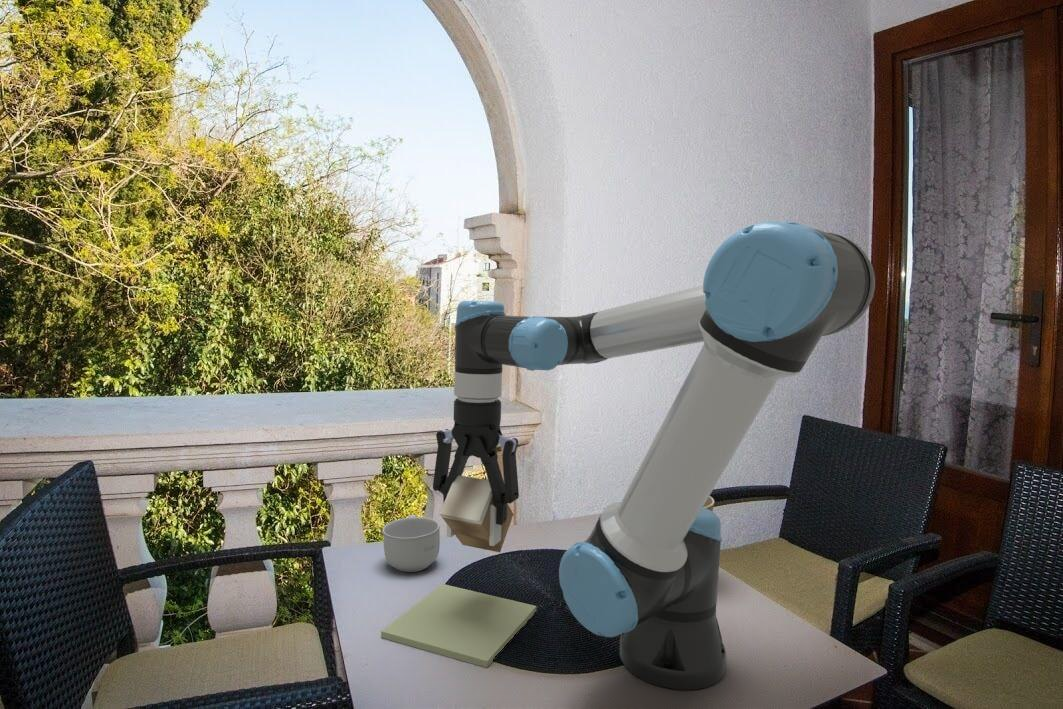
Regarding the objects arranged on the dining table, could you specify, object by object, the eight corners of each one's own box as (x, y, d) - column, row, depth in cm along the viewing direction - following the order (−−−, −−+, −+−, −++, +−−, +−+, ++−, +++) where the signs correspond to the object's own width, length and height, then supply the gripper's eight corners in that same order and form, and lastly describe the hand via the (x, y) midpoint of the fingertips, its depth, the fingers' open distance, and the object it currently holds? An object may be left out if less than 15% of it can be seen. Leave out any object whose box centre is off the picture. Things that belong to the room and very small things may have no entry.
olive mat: (536, 611, 106) (536, 606, 106) (487, 667, 90) (487, 661, 90) (442, 589, 113) (442, 583, 113) (381, 637, 97) (381, 631, 97)
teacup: (434, 579, 117) (434, 536, 117) (375, 576, 118) (375, 534, 117) (445, 549, 131) (446, 511, 131) (393, 547, 132) (393, 509, 131)
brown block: (513, 514, 109) (494, 481, 101) (500, 552, 105) (479, 521, 97) (477, 507, 112) (455, 474, 104) (462, 544, 108) (439, 513, 100)
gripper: (544, 401, 101) (539, 541, 103) (436, 389, 109) (433, 520, 111) (525, 408, 94) (520, 558, 96) (411, 395, 102) (408, 535, 104)
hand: (473, 538), depth 104 cm, fingers closed on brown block, 7 cm apart
